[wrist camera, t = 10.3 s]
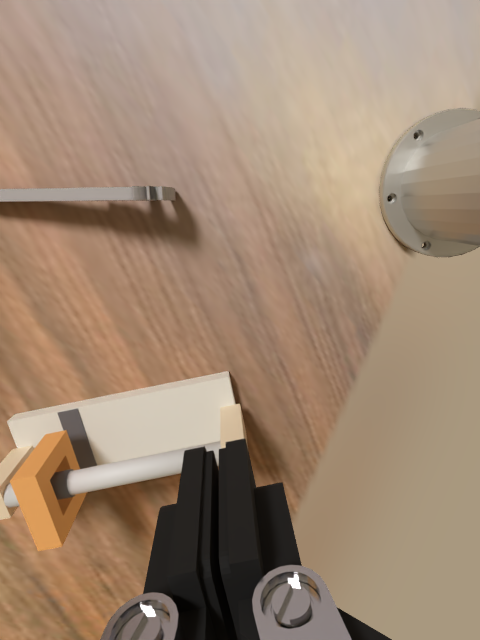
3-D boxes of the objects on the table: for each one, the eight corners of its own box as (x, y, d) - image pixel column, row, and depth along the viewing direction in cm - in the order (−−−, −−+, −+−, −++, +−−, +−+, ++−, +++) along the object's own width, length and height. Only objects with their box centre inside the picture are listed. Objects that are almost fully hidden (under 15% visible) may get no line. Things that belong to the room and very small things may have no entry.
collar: (66, 430, 38) (35, 476, 32) (87, 490, 40) (62, 546, 34) (45, 434, 38) (9, 481, 32) (67, 494, 40) (38, 551, 34)
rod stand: (233, 370, 41) (236, 408, 34) (250, 447, 44) (257, 499, 36) (9, 415, 42) (-40, 463, 34) (38, 489, 44) (-1, 551, 36)
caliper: (176, 188, 37) (167, 184, 31) (176, 200, 37) (168, 199, 31) (-60, 190, 36) (-116, 186, 30) (-57, 203, 36) (-112, 202, 30)
